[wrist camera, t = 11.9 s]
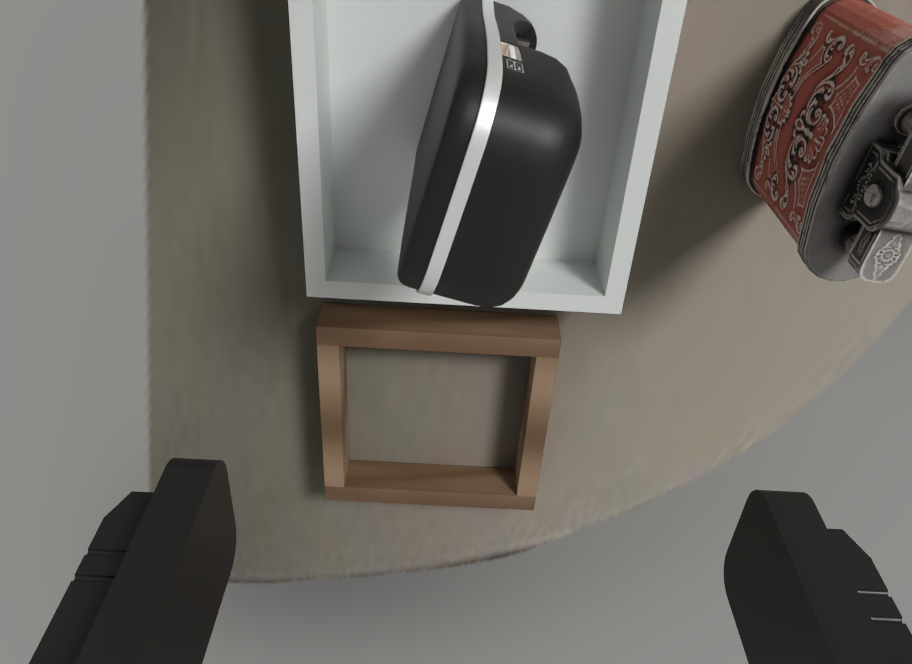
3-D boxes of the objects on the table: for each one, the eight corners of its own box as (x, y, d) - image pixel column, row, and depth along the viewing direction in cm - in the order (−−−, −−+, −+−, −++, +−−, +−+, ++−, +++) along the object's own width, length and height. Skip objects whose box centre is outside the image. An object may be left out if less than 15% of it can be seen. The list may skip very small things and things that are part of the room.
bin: (299, -170, 25) (277, -167, 23) (688, -143, 26) (716, -137, 23) (320, 255, 34) (306, 296, 32) (608, 271, 35) (620, 314, 32)
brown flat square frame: (322, 302, 36) (315, 326, 34) (557, 315, 36) (561, 340, 34) (331, 472, 42) (325, 499, 40) (531, 482, 42) (533, 510, 41)
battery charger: (501, 185, 32) (515, 345, 22) (413, 159, 31) (388, 311, 22) (564, 15, 28) (613, 120, 19) (465, -19, 27) (462, 72, 18)
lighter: (799, 197, 33) (911, 329, 24) (723, 184, 32) (810, 313, 24) (891, -4, 28) (1066, 75, 20) (803, -21, 28) (943, 52, 20)
